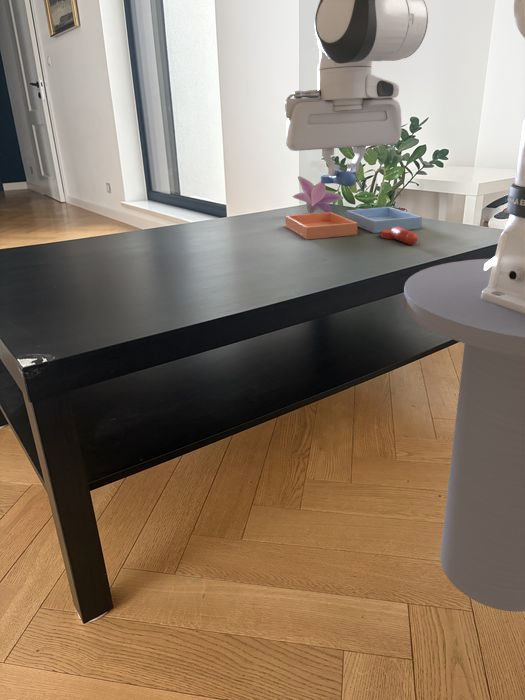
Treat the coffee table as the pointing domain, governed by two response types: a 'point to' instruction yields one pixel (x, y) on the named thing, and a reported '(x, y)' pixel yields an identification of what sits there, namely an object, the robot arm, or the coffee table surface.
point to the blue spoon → (340, 179)
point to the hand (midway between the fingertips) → (343, 175)
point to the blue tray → (384, 219)
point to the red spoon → (400, 235)
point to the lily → (316, 196)
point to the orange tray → (320, 225)
